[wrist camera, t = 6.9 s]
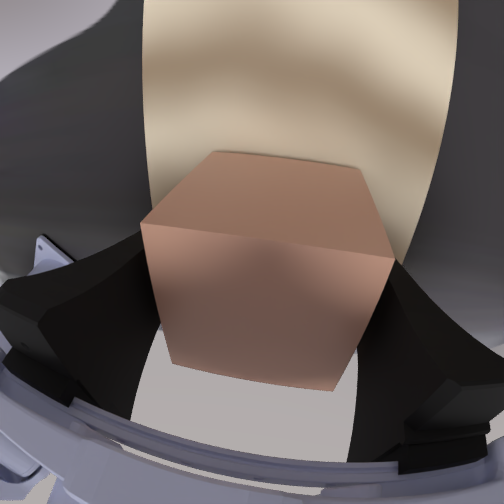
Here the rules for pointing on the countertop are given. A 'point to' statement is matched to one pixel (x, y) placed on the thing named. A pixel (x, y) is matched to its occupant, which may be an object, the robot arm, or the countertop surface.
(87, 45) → the countertop surface
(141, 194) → the countertop surface
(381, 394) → the robot arm
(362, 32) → the maple board
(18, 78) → the countertop surface
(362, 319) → the salmon orange cube
